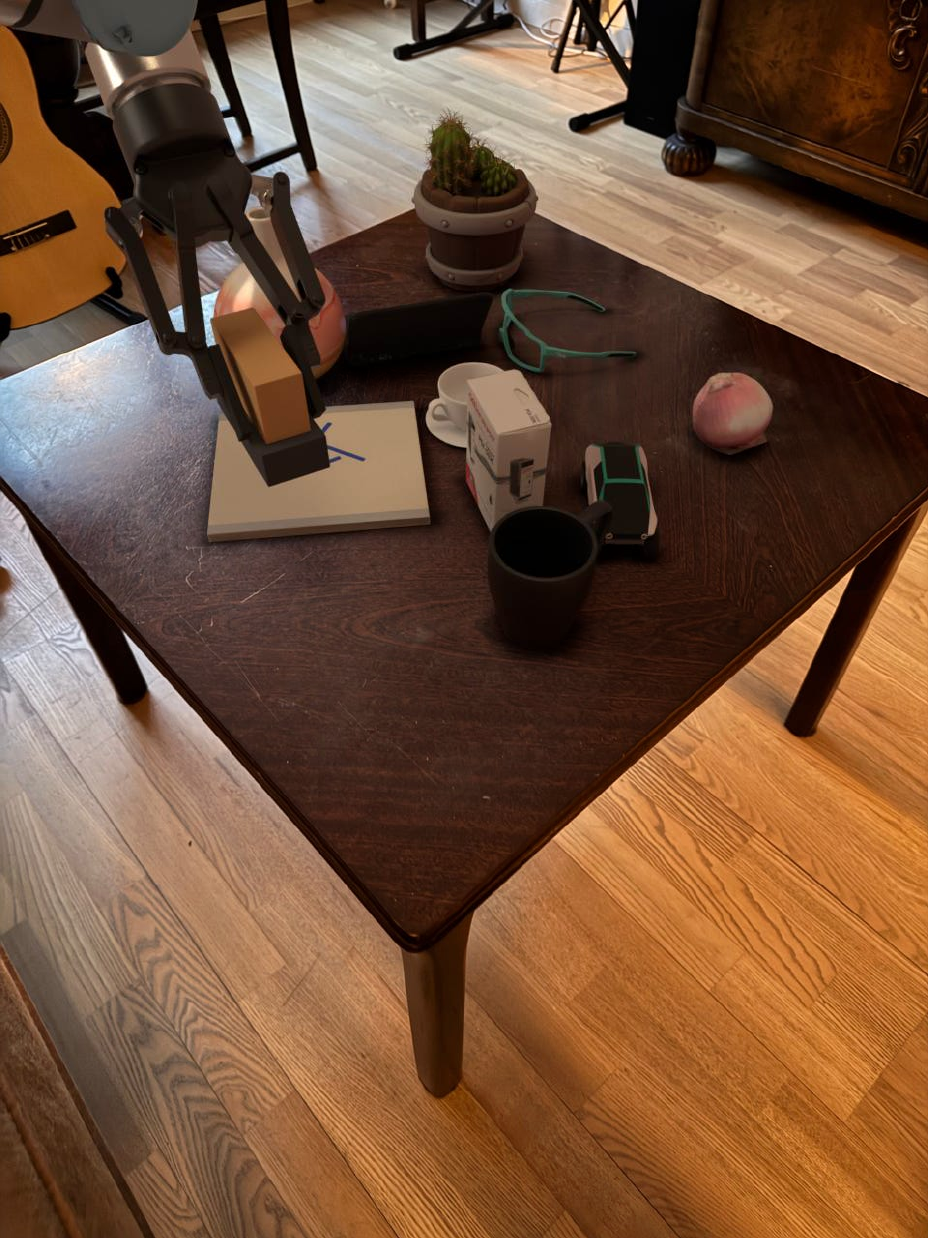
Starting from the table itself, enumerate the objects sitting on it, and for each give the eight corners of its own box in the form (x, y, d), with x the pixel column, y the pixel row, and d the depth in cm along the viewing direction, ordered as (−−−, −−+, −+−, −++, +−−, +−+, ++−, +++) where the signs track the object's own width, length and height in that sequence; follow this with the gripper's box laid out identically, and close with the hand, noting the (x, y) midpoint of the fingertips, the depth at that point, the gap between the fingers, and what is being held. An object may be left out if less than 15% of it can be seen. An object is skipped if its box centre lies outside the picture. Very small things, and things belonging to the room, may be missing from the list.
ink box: (463, 480, 84) (463, 374, 75) (510, 470, 85) (516, 365, 76) (492, 540, 79) (497, 433, 70) (543, 528, 80) (553, 422, 71)
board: (209, 542, 78) (206, 533, 77) (221, 421, 90) (219, 413, 89) (430, 524, 80) (429, 516, 79) (413, 408, 92) (413, 400, 91)
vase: (218, 351, 99) (180, 191, 85) (336, 332, 101) (318, 174, 88) (235, 421, 90) (196, 256, 77) (363, 398, 93) (347, 234, 79)
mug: (635, 604, 73) (654, 521, 66) (535, 680, 68) (544, 599, 61) (564, 553, 77) (575, 469, 70) (464, 622, 72) (465, 538, 65)
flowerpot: (497, 236, 117) (503, 68, 102) (553, 288, 108) (568, 112, 93) (398, 258, 113) (388, 86, 98) (446, 314, 104) (444, 134, 89)
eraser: (268, 488, 65) (248, 396, 59) (217, 403, 71) (195, 314, 65) (330, 467, 66) (317, 376, 60) (275, 386, 73) (258, 298, 67)
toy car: (639, 476, 84) (648, 431, 80) (655, 564, 77) (666, 519, 73) (578, 475, 85) (585, 430, 80) (588, 563, 77) (595, 518, 73)
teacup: (492, 384, 94) (494, 345, 91) (539, 434, 89) (543, 395, 85) (409, 409, 91) (407, 370, 88) (453, 463, 86) (452, 423, 82)
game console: (459, 307, 105) (460, 232, 98) (494, 368, 97) (496, 292, 90) (333, 325, 102) (324, 250, 95) (356, 391, 94) (348, 313, 87)
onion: (701, 408, 92) (716, 348, 86) (773, 430, 89) (793, 369, 84) (675, 450, 87) (690, 389, 82) (751, 474, 85) (771, 412, 79)
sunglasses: (480, 318, 103) (485, 278, 100) (596, 313, 107) (605, 274, 103) (515, 384, 94) (522, 342, 91) (640, 377, 98) (651, 336, 94)
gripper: (276, 114, 68) (380, 403, 71) (37, 158, 62) (161, 470, 65) (291, 56, 61) (406, 379, 64) (22, 100, 55) (162, 453, 58)
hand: (282, 425), depth 64 cm, fingers closed on eraser, 5 cm apart
